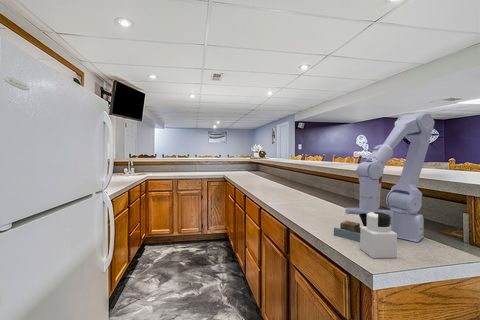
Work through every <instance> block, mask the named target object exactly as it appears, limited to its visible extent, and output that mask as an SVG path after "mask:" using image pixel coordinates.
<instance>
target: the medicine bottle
mask: <svg viewBox="0 0 480 320" xmlns="http://www.w3.org/2000/svg"><path fill="white" fill-rule="evenodd" d="M359 248H360V249H359V250H361V251H363V252H364V253H365V254H367V255H368V256H369V257H371V258H372V259H396V258H397V256H398V255H397V254H398V253H397V251H398V249H397V248H398V238H397V233H395V232H393V231H391V217H390V216H389V215H387V214H385V213H381V212H370V213H368V214H367V226H363V225H360V242H359Z"/></svg>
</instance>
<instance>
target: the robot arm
mask: <svg viewBox="0 0 480 320" xmlns="http://www.w3.org/2000/svg"><path fill="white" fill-rule="evenodd" d="M435 123H436V122H435V120H434V118H433V116H432V114H431V113H429V112H428V111H422V112H420V113H419V112H418V113H412V114H406V115H400V116H399V117H398V118H397V119H396V120H395V122H394V127H393V129H392V130H391V132H390V133H389V135H388V136H387V137H386V139H385V140H384V141H383V144H378V145H376V146H374V147H373V151H372V152H371V153H370V154H369V155H368V156H367V157H366V159H365V161H362V162H360V163H359V164H358V166H356V167H357V168H356V169H355V174H356V176H357V177H358V183H359V201H358V202H359V206H358V207H345V209H344V210H345V215H359V218H360V220H361V222H362V226H367V214H368V213H370V212H381V213H385V214H387V215H389V216H390V230H391V231H393V232H395V233H397V239H402V240H406V241H410V242H414V243H419V242H420V241H422V239H423V238H424V225H425V224H424V215H423V214H421V213H418V212H419V211H420V210H421V209H422V204H423V203H422V202H423V200H422V197H423V193H422V192H421V191H420V190H419V188H418V187H417V186H418V182H419V180H420V176H421V172H422V169H423V166H424V162H425V158H426V156H427V152H428V148H429V145H430V141H431V136H432V132H433V130H434V127H435ZM404 138H405V139H407V140H408V141H409V142H410V143H409V146H408V151H407V154H406V157H405V160H404V162H403V166H402V167H403V168H402V170H401V173H400V177H399V181H398V182H397V183H396V184H394V185H393V186H391V189H390V191H389V192H388V193H387V195H386V197H385V202H386V205H387V206H388V207H389V209H382V208H380V209H378V185H379V178H380V177H381V176H382V177H383V175H384V169H385V168H386V167H385V166H386V164H387V163H388V162H389V161H390V159H391V158H392V157H393V156H394V151H393V150H394V149H395V148H396V146H398V144H399V143H401V141H402V140H403V139H404Z"/></svg>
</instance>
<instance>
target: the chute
mask: <svg viewBox="0 0 480 320" xmlns="http://www.w3.org/2000/svg"><path fill="white" fill-rule="evenodd" d="M333 236H337V237H339V238H344V239H348V240H351V241H356V242H359V243H360V233H357V232H353V231H348V230H344V229H340V227H333Z"/></svg>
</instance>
